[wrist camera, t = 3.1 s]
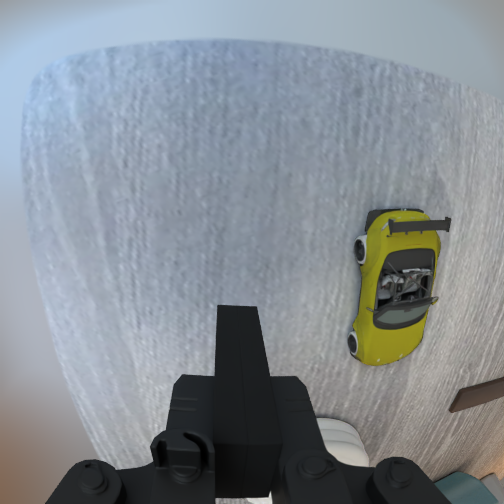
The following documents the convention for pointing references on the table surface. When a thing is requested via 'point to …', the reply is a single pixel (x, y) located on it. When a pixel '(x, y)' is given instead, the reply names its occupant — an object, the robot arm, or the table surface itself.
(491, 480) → the water bottle
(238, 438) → the robot arm
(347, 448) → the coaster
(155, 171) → the table surface
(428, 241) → the sports car
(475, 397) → the ruler
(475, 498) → the flower pot
